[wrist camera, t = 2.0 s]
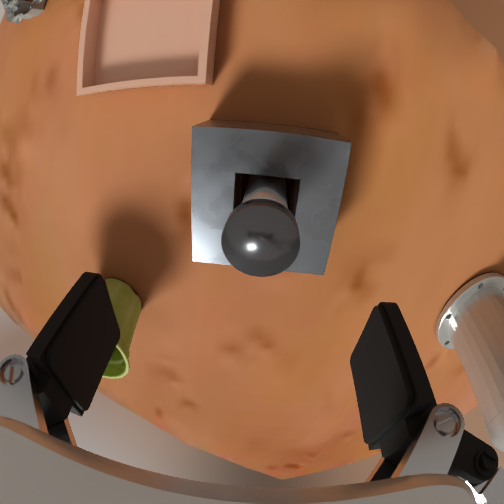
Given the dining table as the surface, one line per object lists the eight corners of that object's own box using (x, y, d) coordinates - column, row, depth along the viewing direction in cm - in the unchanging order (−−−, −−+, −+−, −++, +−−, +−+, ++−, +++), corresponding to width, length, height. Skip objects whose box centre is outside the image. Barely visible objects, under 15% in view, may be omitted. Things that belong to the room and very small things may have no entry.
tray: (223, -25, 14) (217, -36, 12) (212, 84, 19) (205, 83, 17) (101, -4, 14) (86, -10, 12) (92, 93, 20) (76, 95, 18)
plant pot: (83, 256, 29) (41, 303, 21) (155, 277, 29) (123, 335, 22) (92, 313, 34) (62, 360, 26) (155, 333, 34) (132, 388, 27)
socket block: (336, 132, 21) (351, 143, 16) (316, 243, 26) (323, 275, 21) (209, 119, 21) (192, 126, 17) (206, 231, 26) (192, 260, 22)
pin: (294, 163, 22) (306, 212, 13) (288, 208, 24) (293, 280, 16) (244, 157, 22) (222, 203, 14) (241, 203, 24) (220, 272, 16)
